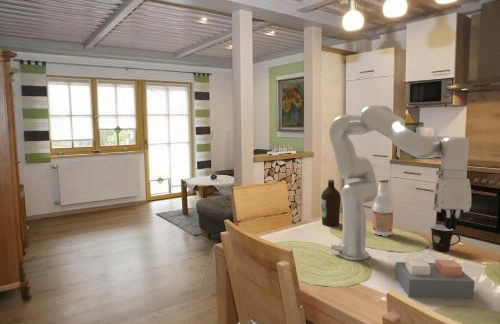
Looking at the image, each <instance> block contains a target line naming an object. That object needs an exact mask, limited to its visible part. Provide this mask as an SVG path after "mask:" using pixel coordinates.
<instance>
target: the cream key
mask: <svg viewBox="0 0 500 324" xmlns="http://www.w3.org/2000/svg"><path fill="white" fill-rule="evenodd" d="M428 263H429V262H427V260H425V259H424V258H405V268H406V270H407V271H408V272H409V273H410V275H430V265H429V264H428Z"/></svg>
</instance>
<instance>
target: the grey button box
mask: <svg viewBox="0 0 500 324" xmlns="http://www.w3.org/2000/svg"><path fill="white" fill-rule="evenodd" d="M405 262H406V261H405ZM405 262H403V261H401V262H400V261H396V262H395V277H394V278H395V280H396V281H397V282H398V284H399V286H400V287H401V288H402V289H403V291H404V292H405V294H406V295H407V297H409V298H428V299H429V298H431V299H457V300H458V299H459V300H474V296H475V295H474V294H475V280H474V279H473V278H471V277H470V276H469V275H468V274H466V273H465V271H464V270H462V276H442V275H441V274H440V273H439V272H438V271H437V270H436V269H435V262H427V263H428V264H429V265H430V275H410V273H409V272H408V271H407V270H406V268H405Z"/></svg>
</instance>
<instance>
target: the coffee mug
mask: <svg viewBox="0 0 500 324" xmlns="http://www.w3.org/2000/svg"><path fill="white" fill-rule="evenodd" d="M430 231H431V240H432V241H431V242H432V244H431V245H432V250H434V251H436V252H440V253H448V252H449V251H450V248H451V247H452V246H454V245H456V244H459V243H460V242H461V236H460V235H459V234H457V233H453V231H454V230H453V229H451V230H449V229H447V228H446V227H445V226H444V224H432V225H431V226H430ZM453 236H456V237H457V238H458V241H456V242H454V243H452V238H453Z"/></svg>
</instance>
